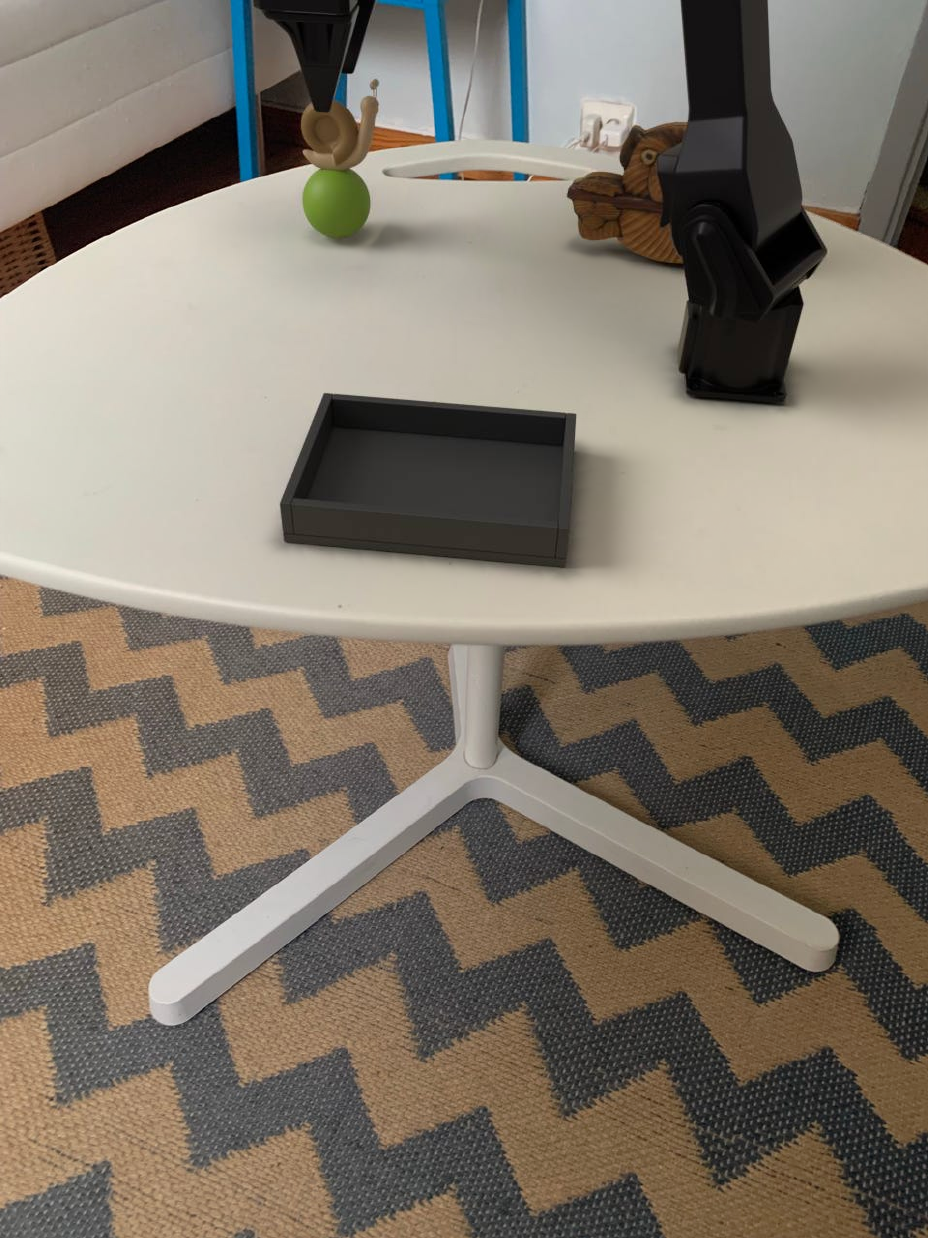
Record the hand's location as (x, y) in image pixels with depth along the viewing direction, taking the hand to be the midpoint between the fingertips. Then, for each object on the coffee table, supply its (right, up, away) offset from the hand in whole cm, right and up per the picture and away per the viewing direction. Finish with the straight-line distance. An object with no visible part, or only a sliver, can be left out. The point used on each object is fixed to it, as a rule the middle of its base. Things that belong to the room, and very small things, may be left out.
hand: (335, 91), depth 77 cm
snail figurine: (0, -8, +8) cm, 11 cm away
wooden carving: (+26, -10, +7) cm, 28 cm away
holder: (+8, -32, -17) cm, 37 cm away
